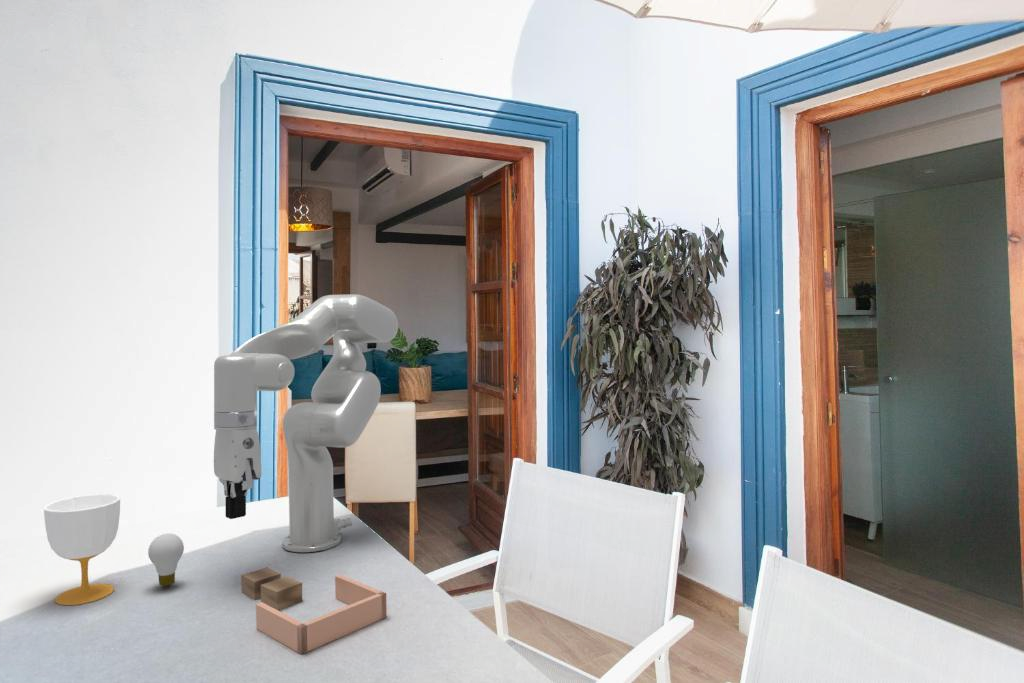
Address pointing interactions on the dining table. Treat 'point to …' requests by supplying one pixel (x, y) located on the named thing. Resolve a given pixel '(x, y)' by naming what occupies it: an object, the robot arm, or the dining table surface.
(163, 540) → the light bulb
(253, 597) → the walnut tile
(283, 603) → the walnut tile
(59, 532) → the cup
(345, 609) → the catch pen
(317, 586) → the dining table surface
